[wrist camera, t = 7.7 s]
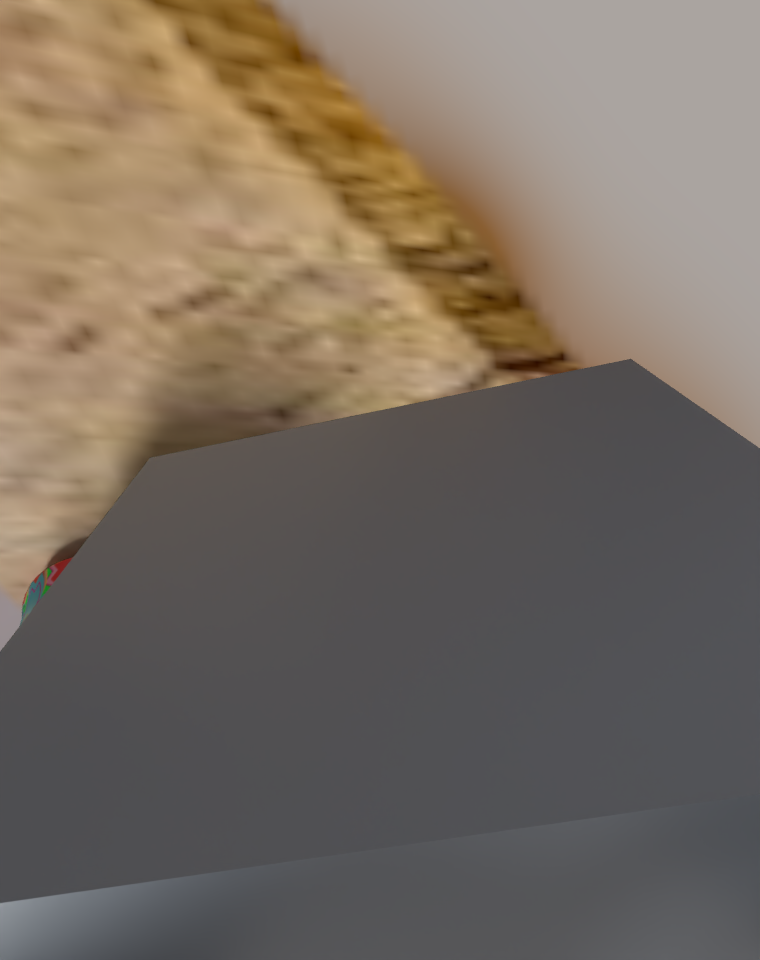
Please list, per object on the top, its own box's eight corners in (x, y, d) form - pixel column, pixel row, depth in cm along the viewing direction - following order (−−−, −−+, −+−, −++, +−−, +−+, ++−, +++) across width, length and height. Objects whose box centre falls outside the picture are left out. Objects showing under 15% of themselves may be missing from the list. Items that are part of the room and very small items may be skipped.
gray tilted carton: (150, 457, 12) (-218, 933, 5) (631, 358, 12) (1170, 733, 4) (284, 761, 17) (214, 1251, 9) (633, 706, 16) (877, 1193, 8)
